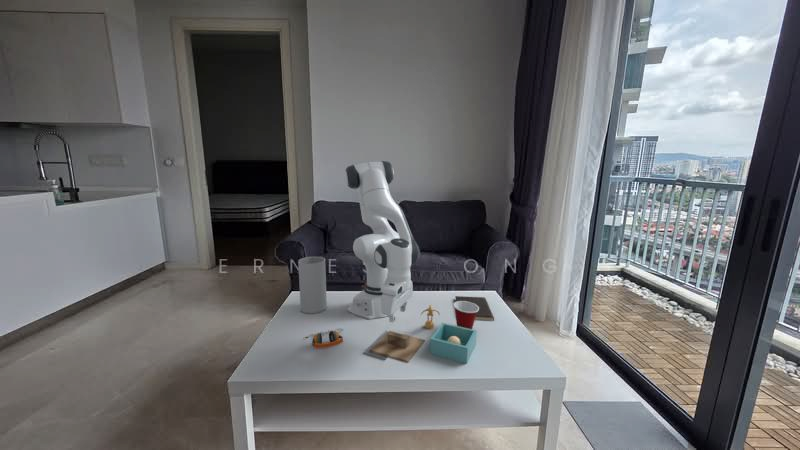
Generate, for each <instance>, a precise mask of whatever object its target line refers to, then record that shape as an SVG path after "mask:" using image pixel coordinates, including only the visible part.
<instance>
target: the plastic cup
mask: <svg viewBox="0 0 800 450" xmlns="http://www.w3.org/2000/svg"><path fill="white" fill-rule="evenodd" d="M453 307H454V313H455V321H456V326H459V327H464V328H468V329H472V330H473V327H474V323H475V317H476V314H477V312H478V311H479V307H478V306H477V305H476V304H474V303H471V302H467V301H457V302H456V301H455V302H454V303H453Z"/></svg>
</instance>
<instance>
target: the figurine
mask: <svg viewBox="0 0 800 450" xmlns="http://www.w3.org/2000/svg"><path fill="white" fill-rule="evenodd" d="M425 312H427V313H426V317H427V318H426V319H427V320H426V321H425V322H424V326H425V329H427V330H432V329H434V328H435V323H434V321H433V319H434V318H433V317H434V313H433V312H437V314H438V315H439V316H441V314H440V312H439V310H437V309H435V308H433V306H432V304H430V305H429V306H428V308H427V309H424V310H423V311H422V312H421V313H420V315H422V314H423V313H425Z"/></svg>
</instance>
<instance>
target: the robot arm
mask: <svg viewBox="0 0 800 450" xmlns="http://www.w3.org/2000/svg"><path fill="white" fill-rule="evenodd" d="M392 165H393V164H391V162H390V161H386V160H385V161H384V160H381V161H368V162H363V163H358V164H350V165H348V166H347V167H346V168H345V172H344V181H345V183H346V185H347V187H348V188H349V189H353V190H357V189H358V198H359V200H358V201H359V207H360V213H361V219H362V222H363V224H364V225H366V226H368V227H370V229H371V230H372V231H373V232H372V233H369V234H363V235H361V236H360V237H357V238H356V239H355V240H354V241H353V245H352V249H353V253H354V255H355V256H356V257H357V258H358V259H360V260H361V261H362V262H363V264H364V266H365V270H366V282H365V283H364V284H363V285H361V288H362V290H361V291H360V292H359V293H357V294H356V295H355V296H354V297H353V299H352V303H351V304H349V306H348V307H347V312H349V313H352V314H354V315H357V316H358V317H362V318H365V319H368V320H372V319H376V318H377V319H379V318H385V317H388V320H389V322H390V323H394V322H395V321H396V316H395V313H396V311H398V310H400V312H402V313H405V311H406V310H407V306H408V300H409V301H410V299H411V298H412V297H413V295H414V294H413V292H414V289H413V288H414V287H413V280H411V279H412V276H411V274H412V273H411V266H414V265H415V264H416V263H417V262H418V260H419V259H420V256H421V251H420V247H419V245H418V243H417V242H416V240H415V238H414V236H413V233H412V231H411V229H410V226H409V223H408V220H407V219H406V215H405V213H404V211H403V209H402V207H401V206H400V204H398V203H397V202H396V201H395V200H394V199H393V197H392V195H391V191H390V187H389V185H390V184H391V183H392V182H393V180H394V178H395V177H394V176H395V170H394V167H393V166H392ZM389 221H390V222H391V223H393V225H394V226H395V229H396V231H395V229H394V228H392V225H390V223H389Z"/></svg>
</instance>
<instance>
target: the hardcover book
mask: <svg viewBox="0 0 800 450" xmlns="http://www.w3.org/2000/svg"><path fill="white" fill-rule="evenodd" d="M454 297H455V302H457V301H467V302H471V303H474V304H476V305H477V306H478V307H479V311H478V312H477V314H476V317H475V320H476V321H477V320H480V321H495V317H494V315H493V313H492V310H491V307H490V305H489V303H488V301H487V299H486V297H484V296H462V295H461V296H460V295H459V296H454Z"/></svg>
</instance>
